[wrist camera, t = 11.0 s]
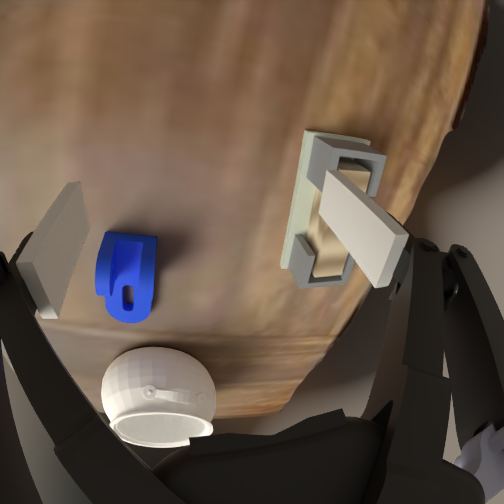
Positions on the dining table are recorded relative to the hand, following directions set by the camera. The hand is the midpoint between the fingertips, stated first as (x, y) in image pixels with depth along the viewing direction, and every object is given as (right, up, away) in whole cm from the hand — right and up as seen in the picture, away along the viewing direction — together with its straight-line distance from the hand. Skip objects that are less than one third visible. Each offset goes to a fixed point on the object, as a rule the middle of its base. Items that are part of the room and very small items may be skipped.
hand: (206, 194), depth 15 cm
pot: (-20, -31, +50) cm, 62 cm away
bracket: (-19, -7, +33) cm, 39 cm away
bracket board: (+14, +5, +33) cm, 36 cm away
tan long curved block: (+14, +4, +32) cm, 35 cm away
